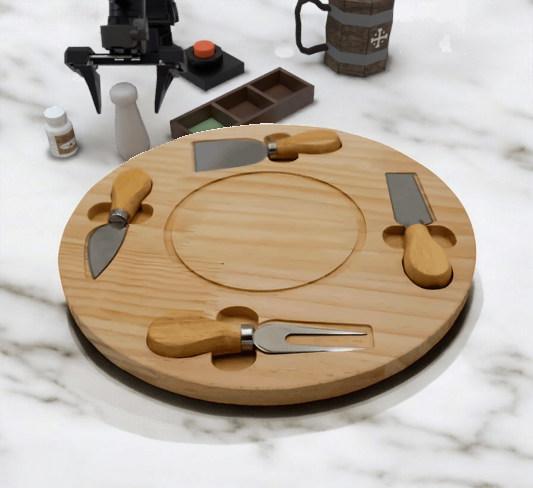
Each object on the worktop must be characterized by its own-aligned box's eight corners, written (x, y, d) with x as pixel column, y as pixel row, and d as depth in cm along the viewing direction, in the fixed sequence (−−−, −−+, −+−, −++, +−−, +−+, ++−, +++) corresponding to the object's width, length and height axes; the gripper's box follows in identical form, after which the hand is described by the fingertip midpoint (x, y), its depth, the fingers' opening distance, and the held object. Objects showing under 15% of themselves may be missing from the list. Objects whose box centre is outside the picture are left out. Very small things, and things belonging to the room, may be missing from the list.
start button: (189, 53, 126) (189, 44, 125) (205, 46, 128) (205, 38, 127) (202, 60, 124) (202, 52, 123) (219, 53, 126) (218, 45, 125)
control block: (167, 67, 130) (164, 49, 127) (206, 50, 134) (204, 32, 132) (205, 91, 123) (203, 72, 121) (244, 72, 128) (244, 54, 125)
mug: (379, 41, 137) (388, -31, 126) (397, 75, 127) (409, 0, 117) (287, 48, 135) (288, -24, 124) (298, 82, 125) (301, 8, 115)
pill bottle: (65, 161, 108) (54, 122, 103) (46, 152, 110) (34, 114, 105) (83, 147, 111) (74, 109, 106) (64, 139, 113) (54, 101, 107)
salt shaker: (145, 167, 107) (133, 99, 98) (112, 162, 108) (97, 95, 99) (156, 146, 111) (146, 79, 102) (124, 142, 112) (111, 75, 103)
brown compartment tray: (171, 137, 113) (169, 120, 111) (279, 82, 126) (279, 66, 123) (204, 161, 108) (203, 144, 106) (313, 102, 121) (314, 85, 118)
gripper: (52, -3, 96) (52, 102, 96) (178, -4, 96) (179, 102, 96) (74, 22, 107) (74, 117, 107) (187, 22, 107) (188, 117, 107)
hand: (127, 113), depth 104 cm, fingers open, 9 cm apart
